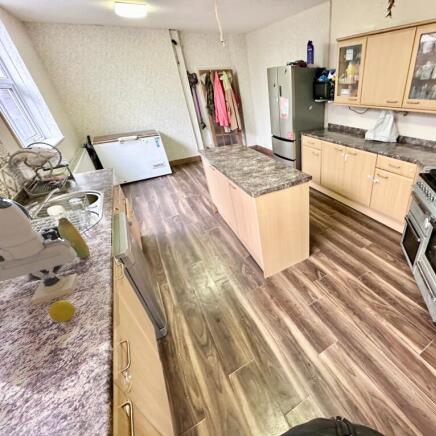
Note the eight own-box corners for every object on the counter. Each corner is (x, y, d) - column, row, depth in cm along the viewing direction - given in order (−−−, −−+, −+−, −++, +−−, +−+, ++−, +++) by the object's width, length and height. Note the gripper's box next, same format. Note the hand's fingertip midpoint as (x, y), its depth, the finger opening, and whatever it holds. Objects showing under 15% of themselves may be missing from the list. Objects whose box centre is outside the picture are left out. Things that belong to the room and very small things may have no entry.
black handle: (43, 261, 102) (26, 239, 96) (49, 250, 109) (34, 229, 103) (77, 252, 107) (63, 230, 101) (81, 242, 114) (68, 221, 108)
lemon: (53, 325, 73) (38, 308, 69) (71, 311, 77) (58, 294, 73) (66, 329, 71) (52, 311, 67) (84, 314, 76) (71, 296, 72)
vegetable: (95, 255, 104) (73, 216, 94) (79, 264, 99) (53, 224, 89) (89, 252, 107) (66, 213, 97) (73, 260, 102) (47, 220, 92)
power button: (44, 288, 82) (41, 284, 81) (47, 281, 85) (45, 278, 84) (57, 284, 84) (54, 280, 83) (60, 278, 86) (57, 274, 86)
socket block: (34, 304, 80) (27, 296, 78) (42, 288, 87) (36, 280, 85) (73, 292, 85) (68, 284, 83) (79, 277, 92) (73, 269, 90)
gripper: (67, 232, 83) (86, 262, 90) (-13, 252, 75) (15, 283, 82) (63, 241, 78) (83, 272, 85) (-24, 263, 70) (6, 295, 77)
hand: (49, 278), depth 83 cm, fingers closed
